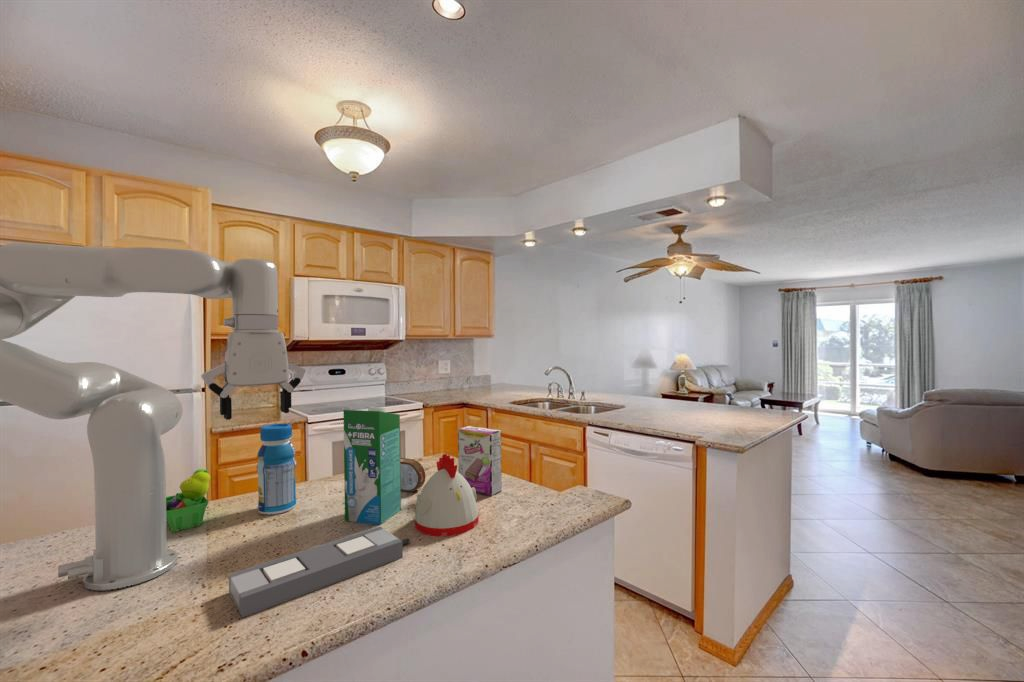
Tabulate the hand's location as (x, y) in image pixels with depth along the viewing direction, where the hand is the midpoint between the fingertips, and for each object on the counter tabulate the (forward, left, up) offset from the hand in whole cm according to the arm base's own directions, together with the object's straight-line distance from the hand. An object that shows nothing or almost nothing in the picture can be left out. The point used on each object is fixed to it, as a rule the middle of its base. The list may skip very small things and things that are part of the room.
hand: (257, 415), depth 84 cm
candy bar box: (+52, -2, -26) cm, 58 cm away
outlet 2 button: (+12, -16, -25) cm, 32 cm away
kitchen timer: (+34, -13, -27) cm, 45 cm away
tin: (+37, +14, -27) cm, 48 cm away
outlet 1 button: (0, -16, -25) cm, 30 cm away
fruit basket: (-8, +28, -27) cm, 39 cm away
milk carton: (+24, +2, -26) cm, 36 cm away
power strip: (+8, -16, -26) cm, 32 cm away
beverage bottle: (+9, +22, -26) cm, 36 cm away
